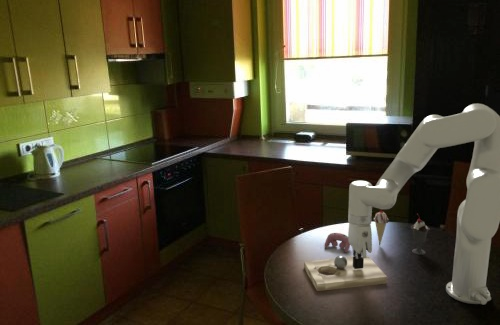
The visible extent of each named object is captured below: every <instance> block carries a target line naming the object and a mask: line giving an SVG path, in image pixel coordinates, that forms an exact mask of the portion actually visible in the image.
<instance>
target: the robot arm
mask: <svg viewBox="0 0 500 325" xmlns="http://www.w3.org/2000/svg"><path fill="white" fill-rule="evenodd" d="M471 142H474V145H473V146H474V147H473V152H472V158H471V162H470V166H469V170H468V173H467V177H466V183H465V184H466V188H467V191H466V197H465V199H464V200H463V201H462V202H461V203H460V205H459V206H458V209H457V216H456V217H457V218H456V235H455V236H456V238H455V248H454V256H453V267H452V268H453V269H452V275H451V276H452V278H451V279H452V280H451V281H449V282H448V283H447V284H446V285H445V291H446V293H447V294H448V295H449V296H450V297H451V298H452V299H455V300H457V301H459V302H462V303H466V304H469V305H470V304H471V305H486V304H487V303H488V302H490V301H491V300H492V297H491V293H490V290H488V286H487V277H488V268H489V260H490V253H491V244H492V238H493V237H494V236H495V234H496V233H497V231H498V229H499V225H500V115H499V114H498V113H497V111H495V110H494V109H493V108H491V107H489V106H488V105H485V104H483V103H472V104H469V105H468V106H466V107H465V108H464V109H463V111H462V112H460V113H457V114H452V115H448V116H442V115H439V114H430V115H428V116H426V117H424V118H423V120H422V121H421V122H420V123H419V125H418V126H417V127H416V129H415V130H414V131H413V133H412V134H411V135H410V137H409V138H408V139H407V141H406V143H404V145H403V146H402V148H400V150H399V152H398V153H397V155H396V156H395V158H394V159H393V161H392V162H391V163H390V164H389V165H388V167H387V168H386V170H385V171H384V173H382V175H381V176H380V178H379V179H378V181H377V183H376V184H375V186H373V184H372V183H371V182H369V181H367V180H354V181H352V182H351V183H349V188H348V189H349V190H348V212H347V213H348V214H347V215H348V216H347V218H348V220H347V222H348V223H349V224H348V234H347V236H348V241H349V244H350V247H351V248H352V257H353V267H354V268H355V269H360V268H363V264H364V258H367V252H368V253H369V254H370V253H372V252H373V236H372V235H373V232H372V226H371V224H372V213H373V211H372V210H373V208H376V209H379V210H390V209H391V208H393V207H394V206H395V204H396V202H397V197H398V194H399V192H400V191H401V190H402V189H403V187H404V186H405V184H406V183H407V182H408V180H409V179H410V178H411V177H412V176H413V175H414V174H416V173H417V172H419V171H421V170H422V169H423V168H424V167H425V166H426V165H427V163H428V162H429V161H430V160H431V158H432V157H433V155H434V154H435V153H436V152H437V150H438V149H440V148H441V149H442V148H447V147H452V146H457V145H462V144H466V143H471Z"/></svg>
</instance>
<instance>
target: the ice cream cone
mask: <svg viewBox="0 0 500 325" xmlns="http://www.w3.org/2000/svg"><path fill="white" fill-rule="evenodd" d="M373 221H374V222H375V228H376V234H377V238H378V240H377V241H378V244H379V247H380V246H381V244H382V239H383V236H384V232H385V230H386V226H387V224H388V223H389V218H388V216H387V213H386V212H384V211H383V210H379V212H376V213H375V216H374V217H373Z"/></svg>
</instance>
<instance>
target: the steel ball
mask: <svg viewBox="0 0 500 325" xmlns="http://www.w3.org/2000/svg"><path fill="white" fill-rule="evenodd" d="M334 259H335V260H334V264H335V266H336V267H337V268H338V269H344V268H345V267H346V266H347V259H346V258H345V256H343V255H338V256H336V257H335V258H334Z"/></svg>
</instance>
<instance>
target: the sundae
mask: <svg viewBox="0 0 500 325" xmlns="http://www.w3.org/2000/svg"><path fill="white" fill-rule="evenodd" d="M416 215H417V216H418V219H417V220H416V222H414V224H411V225H410V228H411V230H412V235H413V241H414V242H415V244H417V247H416V248H414V249H412V250H411V252H412V254H414V255H418V256H424V255H425V254H426V251H425V250H424V249H422V247H421V246H422V244H424V243H425V242H426V239H427V235H428V231H430V230H431V228H430V227H429V226H427V225H426V224H425V221H424V220H421V219H420V218H421V217H420V215H419V213H416Z"/></svg>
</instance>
